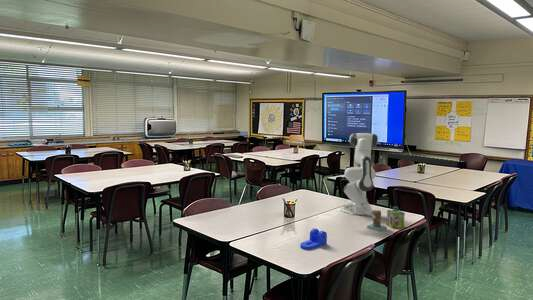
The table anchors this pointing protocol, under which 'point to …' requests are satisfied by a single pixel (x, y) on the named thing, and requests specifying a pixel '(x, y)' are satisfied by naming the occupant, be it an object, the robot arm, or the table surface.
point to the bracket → (315, 240)
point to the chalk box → (395, 218)
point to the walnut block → (377, 218)
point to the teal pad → (376, 227)
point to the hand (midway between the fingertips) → (374, 215)
